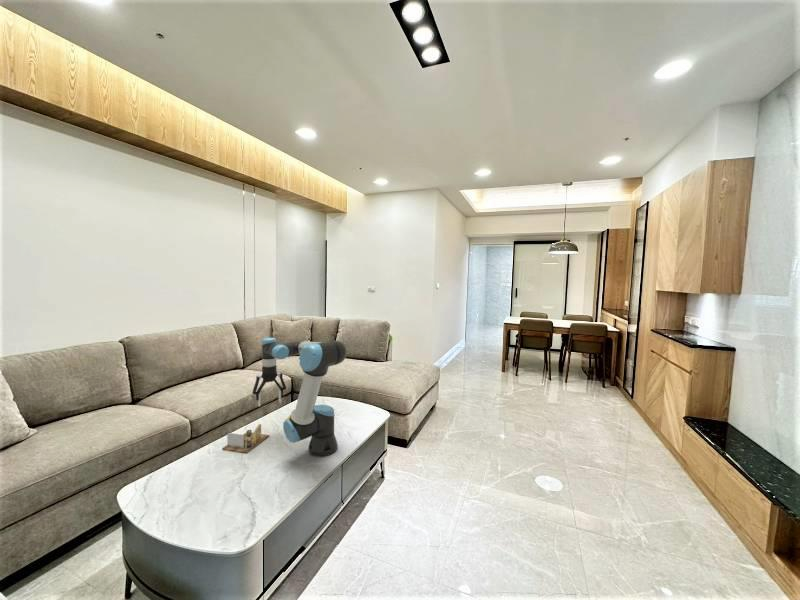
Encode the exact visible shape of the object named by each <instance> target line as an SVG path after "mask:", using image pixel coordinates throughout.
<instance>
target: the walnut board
mask: <svg viewBox="0 0 800 600" xmlns="http://www.w3.org/2000/svg"><path fill="white" fill-rule="evenodd" d="M242 435H245V449H240V448H233V447H228V445H227V444H226V445H225V446H223V447H222V448H221V449H222V451H226V452H227V451H228V452H233V453H238V454H249V453H250V452H251V451H252V450H254V449H256V448H257V447H259V445H261V444H262V443H263V442H264V441H266V440H267V439H269V438H270V434H265V433H264V434H263V433H261V437H260V439H259V440H258V442H257V443H256V445H253V432H252V447H250V448H247V431H246V432H245V433H243V434H242Z"/></svg>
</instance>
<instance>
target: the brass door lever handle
mask: <svg viewBox="0 0 800 600" xmlns="http://www.w3.org/2000/svg"><path fill="white" fill-rule="evenodd" d="M252 433H253V445H256V443H257V442H258V440H259V439H260V437H261V434H262V424H261V423H258V425H257V426H256V428H255V429H254V431H253V432H252ZM251 441H252V435H251V436H247V442H248V443H249V442H251Z"/></svg>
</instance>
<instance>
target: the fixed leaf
mask: <svg viewBox="0 0 800 600" xmlns="http://www.w3.org/2000/svg"><path fill="white" fill-rule="evenodd" d="M246 432H247V436H251V435H252V433H253V432H252V429H247V430H246ZM226 437H227V438H226V439H227V444H226V445H228V447H233V448H240V449H245V435H243V434H239V433H232V432H228V433H227V435H226ZM250 447H252V441H251V442H249V443H248V442H247V448H250Z"/></svg>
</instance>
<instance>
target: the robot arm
mask: <svg viewBox="0 0 800 600" xmlns="http://www.w3.org/2000/svg"><path fill="white" fill-rule="evenodd" d="M347 349H348V348H347V346H346V344H345V343H343V342H342V341H340V340H329V341H325V342H321V341H320V342H319V341H308V340H306V339H305V340H298V341H297V340H296V341H289V342H284V343H277V339H276V338H275V337H264V338H262V340H261V365H262V368H261V375H256V376H255V379H256V380H255V384H254V385H253V389H252V394H253V395H255V400H256V401H257V405H258V407H261V392H262V390H263V388H264V386H265V385H266V383H272V382H274V383H275V385H276V386H277V387H278V389H279V390H278V403H279V404H281V403H282V397H283V396H284V390H287V387H286V384H285V380H284V378H283V373H282V372H279V373H277V360H284V359H286V358H287V357H291V356H298V355H299V358H298V360H299V362H298V363H299V366H300V368H301V370H302V371H303V372H302V373H303V377H302V382H301V385H300V389H299V394H298V397H297V402H296V406H295V409H293V410H292V411H291V413H290V415H291V416H290V415H289V416H290V419H287V418H286V419H287V420H286V419H285V420H284V421H283V424H282V427H283V428H282V429H283V432H284V434H285V437H286V439H287V440H288V441H289V443H291V444H294V443H295V444H296V443H299V442H301V441H303V440H305V439H308V438H310V437H311V438H310V441H309V444H308V453H309V454H310V455H312V456H314V457H326V456H330V455H333V454H334V453H335V452H337V450H338V448H339V447H338V441H337V438H336V436H335V410H334V408H333V407H332V406H331V405H327V404H316V403H317V399H318V395H319V391H320V387H321V383H322V382H323V381H322V380H323V377H325V376H326V375H327V373H328V372H329V368H330V367H334V366H336V365H339V364H341V363H342V362H344V361H345V359H346V358H347V355H348V350H347ZM277 377H278V378H279V380H280V383H281V385H282V386H281V385H280V383H279V382H278V381H277V379H276V378H277ZM261 379H262V380H261ZM260 380H261V381H262V382H261V383H260V384H259V382H260Z"/></svg>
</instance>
